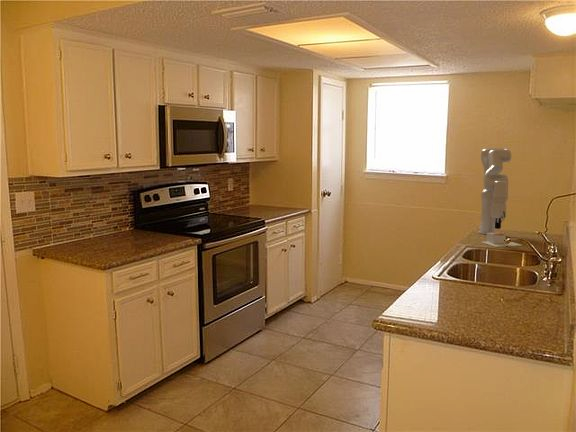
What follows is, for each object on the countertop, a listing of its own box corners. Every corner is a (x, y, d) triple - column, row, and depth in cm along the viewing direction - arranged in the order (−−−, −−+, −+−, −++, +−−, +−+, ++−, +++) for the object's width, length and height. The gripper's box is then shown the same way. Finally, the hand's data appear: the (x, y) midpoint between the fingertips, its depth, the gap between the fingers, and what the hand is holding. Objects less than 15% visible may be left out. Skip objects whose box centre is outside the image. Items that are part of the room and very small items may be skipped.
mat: (481, 242, 320) (481, 241, 320) (507, 241, 324) (507, 240, 324) (495, 247, 306) (495, 246, 306) (522, 245, 310) (522, 245, 310)
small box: (498, 232, 323) (506, 235, 313) (498, 240, 324) (505, 243, 314) (486, 232, 323) (493, 235, 313) (486, 240, 324) (493, 243, 313)
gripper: (487, 199, 323) (485, 226, 326) (501, 201, 309) (499, 230, 311) (497, 198, 325) (495, 226, 327) (512, 201, 310) (510, 230, 313)
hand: (497, 228), depth 319 cm, fingers closed
